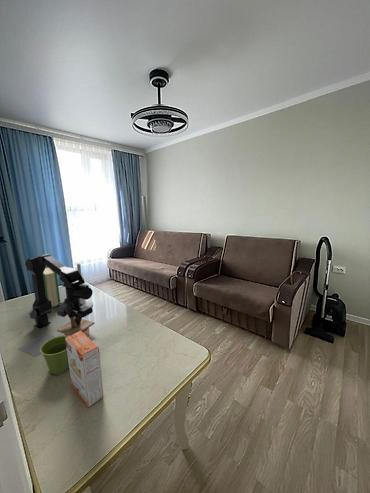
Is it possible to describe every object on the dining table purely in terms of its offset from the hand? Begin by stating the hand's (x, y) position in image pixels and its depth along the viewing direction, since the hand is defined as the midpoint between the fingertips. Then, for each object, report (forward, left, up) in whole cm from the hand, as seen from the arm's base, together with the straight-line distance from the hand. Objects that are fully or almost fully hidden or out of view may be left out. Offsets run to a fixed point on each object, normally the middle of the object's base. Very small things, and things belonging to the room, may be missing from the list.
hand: (76, 324), depth 106 cm
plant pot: (+11, -18, -8) cm, 22 cm away
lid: (0, 0, -2) cm, 2 cm away
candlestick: (-24, +25, -8) cm, 35 cm away
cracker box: (+30, -22, -8) cm, 38 cm away
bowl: (0, 0, -7) cm, 7 cm away
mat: (-11, -11, -7) cm, 17 cm away
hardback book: (-48, +20, -8) cm, 52 cm away
